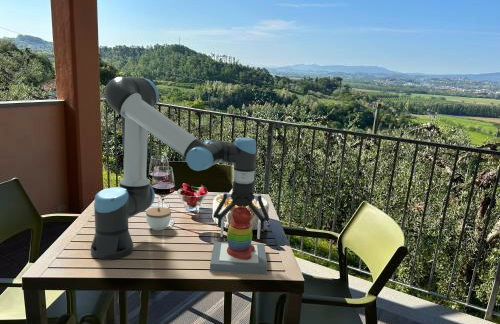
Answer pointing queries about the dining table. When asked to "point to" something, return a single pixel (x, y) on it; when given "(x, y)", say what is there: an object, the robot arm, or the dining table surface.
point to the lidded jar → (158, 218)
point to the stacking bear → (240, 234)
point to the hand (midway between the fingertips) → (240, 236)
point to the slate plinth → (238, 260)
